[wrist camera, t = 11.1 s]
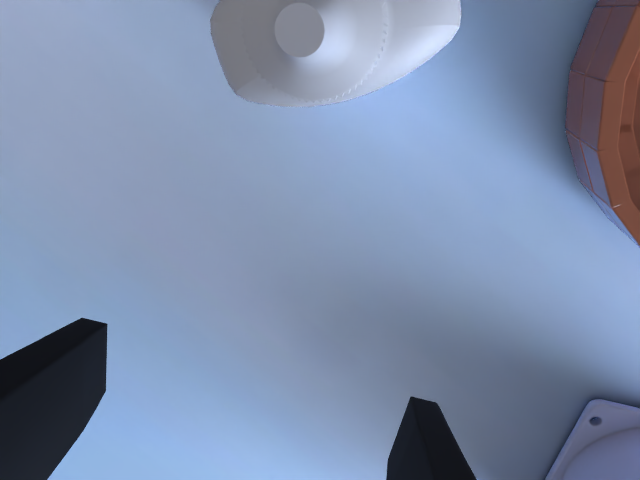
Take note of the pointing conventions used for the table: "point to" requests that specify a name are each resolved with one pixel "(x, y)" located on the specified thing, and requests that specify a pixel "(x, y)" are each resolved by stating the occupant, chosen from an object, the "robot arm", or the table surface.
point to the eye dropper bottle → (326, 46)
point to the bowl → (608, 112)
